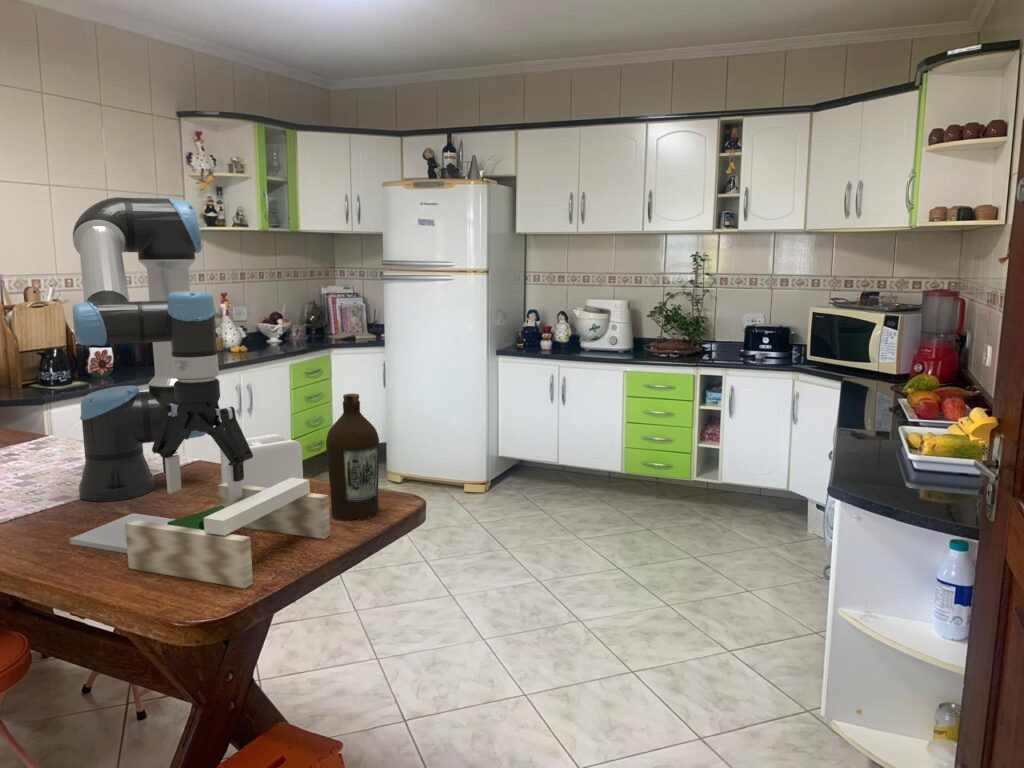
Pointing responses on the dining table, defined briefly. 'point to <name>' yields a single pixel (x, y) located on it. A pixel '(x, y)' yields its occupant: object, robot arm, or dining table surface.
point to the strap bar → (255, 506)
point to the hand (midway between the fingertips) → (204, 494)
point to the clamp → (195, 519)
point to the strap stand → (220, 541)
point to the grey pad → (113, 533)
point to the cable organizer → (269, 461)
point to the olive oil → (353, 463)
